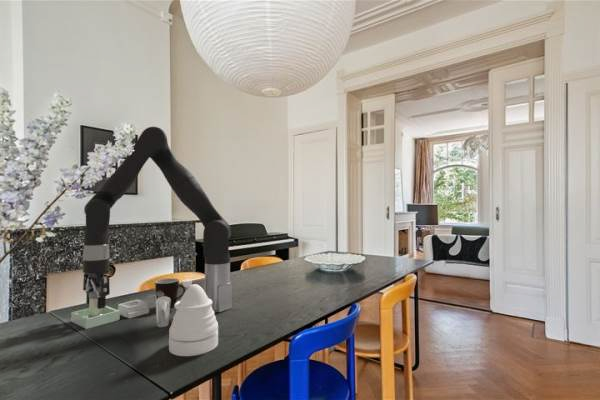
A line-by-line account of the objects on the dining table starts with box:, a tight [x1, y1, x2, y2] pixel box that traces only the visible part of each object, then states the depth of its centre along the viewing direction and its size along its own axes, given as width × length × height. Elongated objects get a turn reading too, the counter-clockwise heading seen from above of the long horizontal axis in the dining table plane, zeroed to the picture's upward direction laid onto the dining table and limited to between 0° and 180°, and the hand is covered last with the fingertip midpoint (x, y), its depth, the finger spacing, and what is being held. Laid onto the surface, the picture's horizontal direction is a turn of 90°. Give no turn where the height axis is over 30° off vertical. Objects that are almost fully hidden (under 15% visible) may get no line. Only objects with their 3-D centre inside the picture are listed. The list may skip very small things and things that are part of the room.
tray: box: [70, 305, 121, 330], centre depth 106 cm, size 12×10×3 cm
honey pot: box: [168, 278, 219, 357], centre depth 87 cm, size 13×13×18 cm
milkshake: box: [152, 296, 171, 328], centre depth 101 cm, size 4×5×10 cm
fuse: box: [88, 291, 103, 318], centre depth 106 cm, size 4×4×9 cm
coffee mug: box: [154, 277, 186, 310], centre depth 119 cm, size 12×9×10 cm
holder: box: [116, 299, 150, 319], centre depth 113 cm, size 9×7×4 cm
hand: (95, 305), depth 106 cm, fingers open, 8 cm apart
